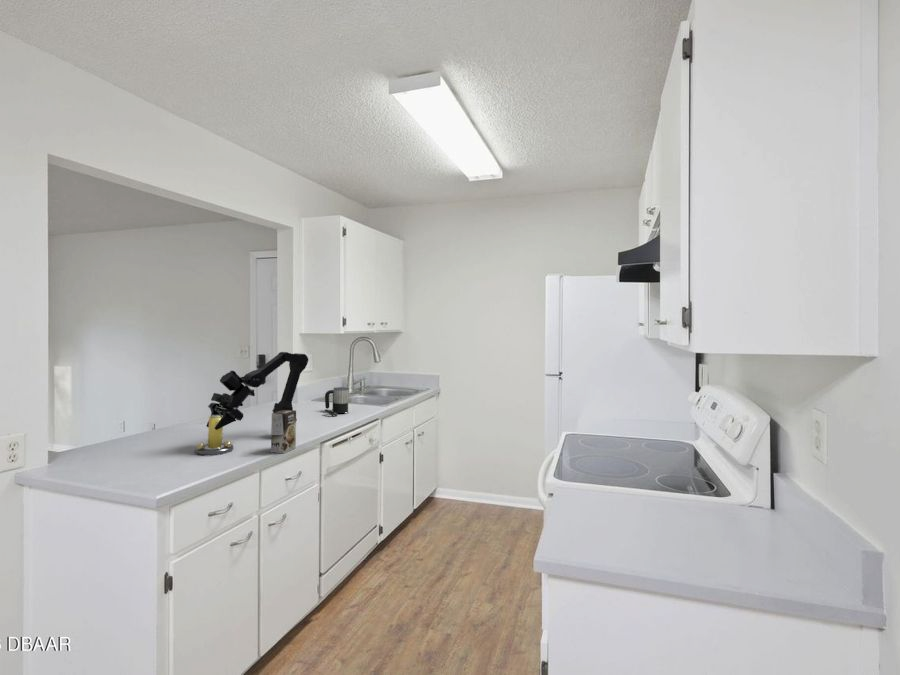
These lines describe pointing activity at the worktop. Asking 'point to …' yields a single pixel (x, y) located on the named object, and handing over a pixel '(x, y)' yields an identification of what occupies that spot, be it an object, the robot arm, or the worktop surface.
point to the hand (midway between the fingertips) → (211, 427)
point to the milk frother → (337, 400)
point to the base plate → (213, 449)
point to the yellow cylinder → (214, 432)
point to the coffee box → (283, 431)
